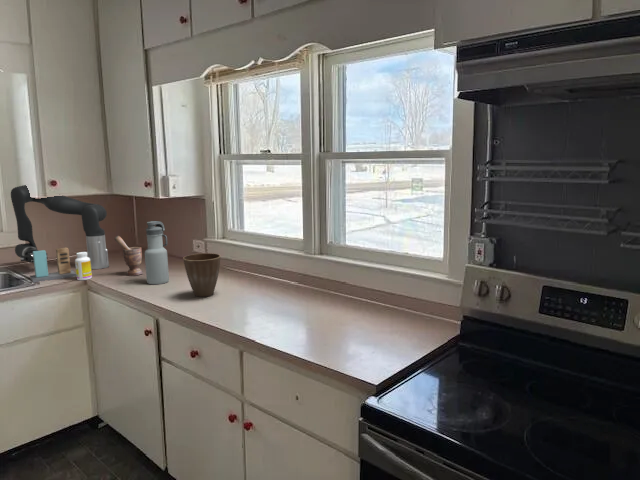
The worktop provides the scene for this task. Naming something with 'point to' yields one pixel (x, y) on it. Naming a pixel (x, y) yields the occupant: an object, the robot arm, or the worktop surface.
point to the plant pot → (202, 272)
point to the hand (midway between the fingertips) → (37, 259)
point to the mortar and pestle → (131, 257)
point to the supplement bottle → (83, 266)
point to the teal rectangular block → (40, 263)
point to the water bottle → (156, 254)
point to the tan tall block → (63, 260)
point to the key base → (53, 276)
